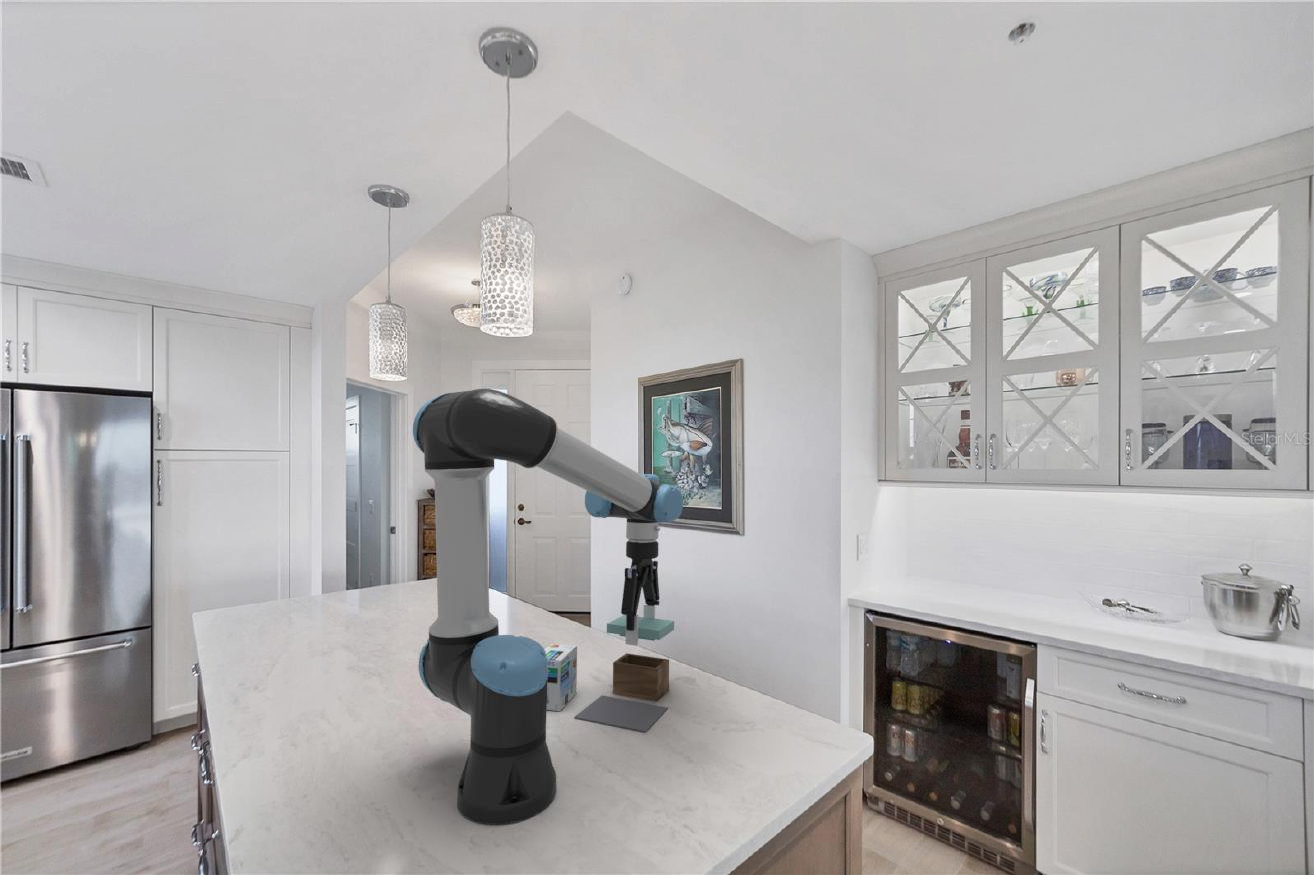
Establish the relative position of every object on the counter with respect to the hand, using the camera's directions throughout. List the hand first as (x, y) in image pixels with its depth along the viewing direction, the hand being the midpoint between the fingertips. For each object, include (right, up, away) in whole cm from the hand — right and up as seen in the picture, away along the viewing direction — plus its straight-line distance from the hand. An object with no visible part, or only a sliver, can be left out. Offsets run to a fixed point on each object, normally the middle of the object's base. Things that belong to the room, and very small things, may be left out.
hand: (640, 638), depth 133 cm
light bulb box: (-19, -12, -5) cm, 23 cm away
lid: (0, +1, 0) cm, 1 cm away
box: (0, -12, 0) cm, 12 cm away
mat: (-4, -12, -12) cm, 17 cm away
